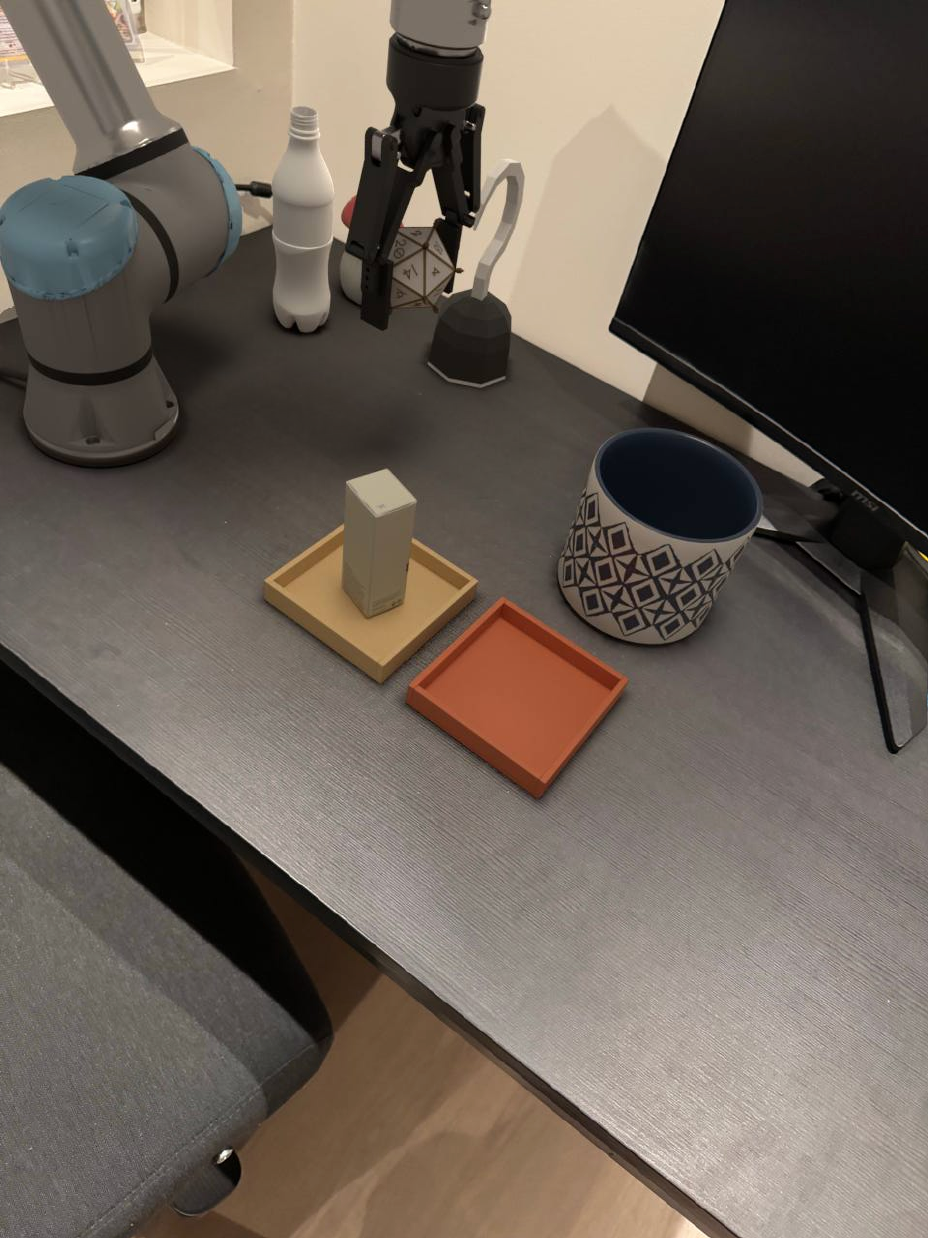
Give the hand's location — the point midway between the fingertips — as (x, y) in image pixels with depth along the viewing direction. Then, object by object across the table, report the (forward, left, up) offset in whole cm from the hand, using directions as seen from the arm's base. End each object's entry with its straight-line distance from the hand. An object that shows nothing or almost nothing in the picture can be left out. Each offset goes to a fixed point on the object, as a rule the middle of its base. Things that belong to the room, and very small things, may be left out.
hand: (408, 304), depth 82 cm
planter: (+31, +1, -18) cm, 36 cm away
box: (+13, -19, -17) cm, 29 cm away
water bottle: (-25, +11, -18) cm, 33 cm away
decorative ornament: (-24, +23, -18) cm, 38 cm away
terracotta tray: (+30, -19, -18) cm, 40 cm away
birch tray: (+13, -19, -18) cm, 29 cm away
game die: (0, 0, 0) cm, 0 cm away
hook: (-5, +21, -18) cm, 28 cm away
